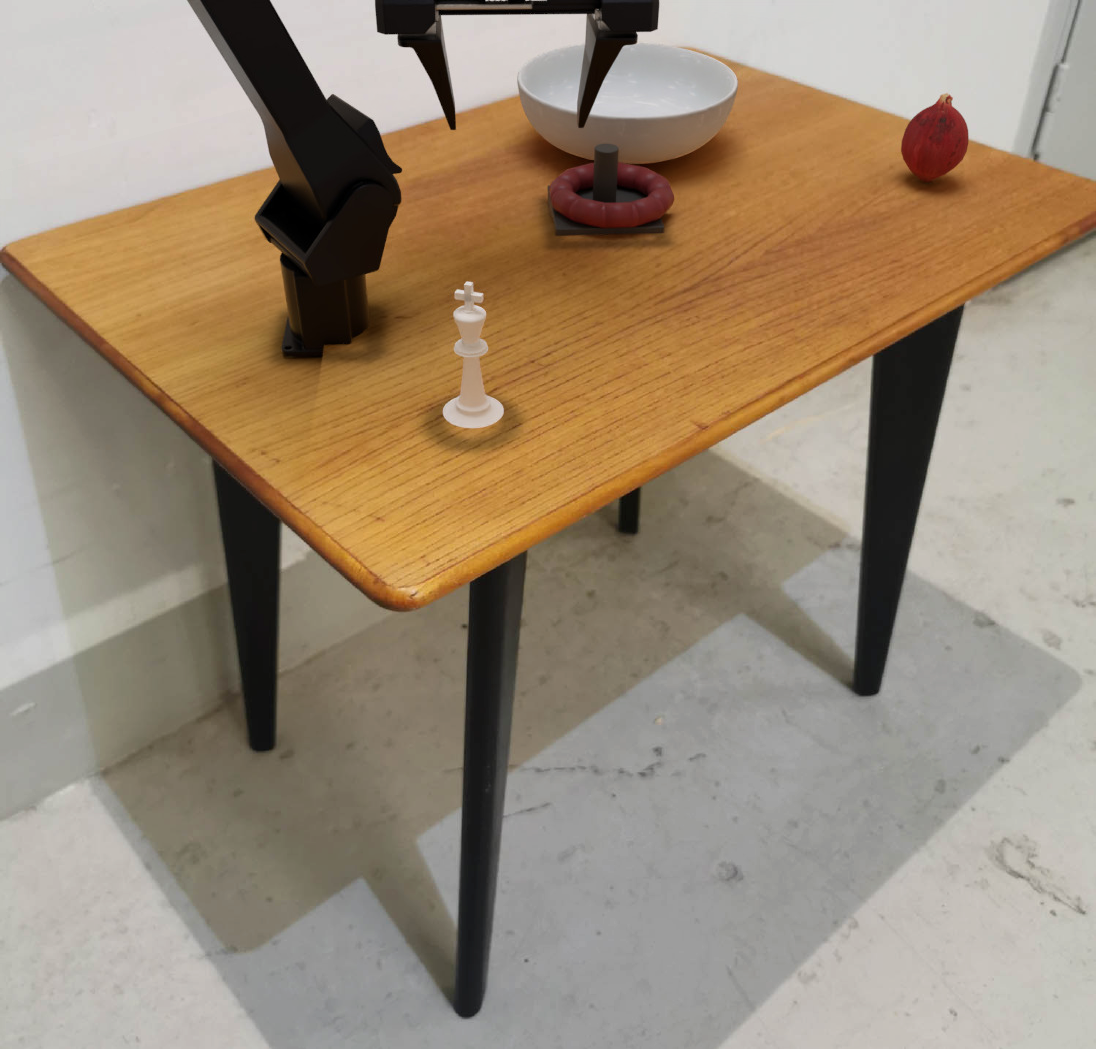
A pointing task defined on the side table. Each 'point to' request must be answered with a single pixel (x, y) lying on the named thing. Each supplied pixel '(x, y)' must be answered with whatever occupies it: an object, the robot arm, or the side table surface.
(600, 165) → the post
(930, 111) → the onion
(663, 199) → the ring
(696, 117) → the serving bowl
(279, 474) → the side table surface
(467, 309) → the chess piece
